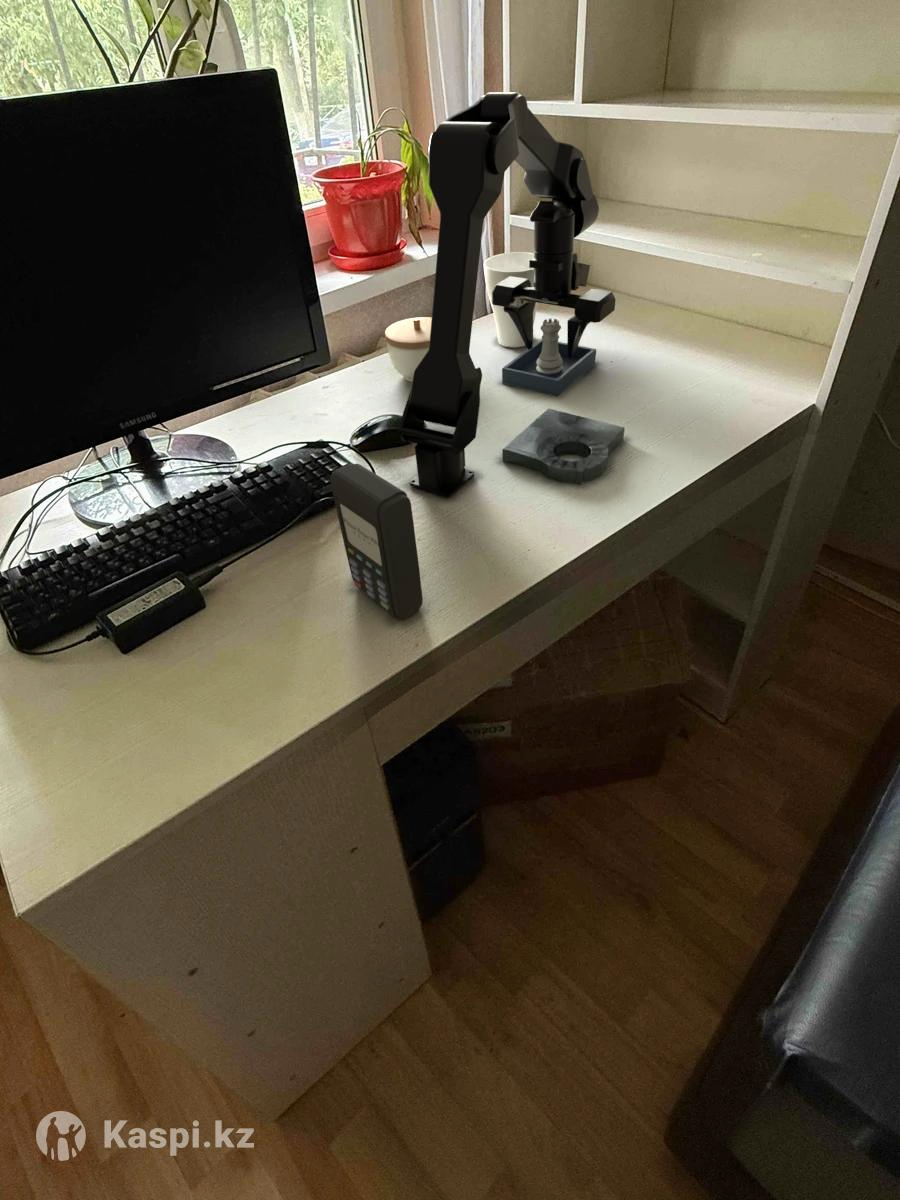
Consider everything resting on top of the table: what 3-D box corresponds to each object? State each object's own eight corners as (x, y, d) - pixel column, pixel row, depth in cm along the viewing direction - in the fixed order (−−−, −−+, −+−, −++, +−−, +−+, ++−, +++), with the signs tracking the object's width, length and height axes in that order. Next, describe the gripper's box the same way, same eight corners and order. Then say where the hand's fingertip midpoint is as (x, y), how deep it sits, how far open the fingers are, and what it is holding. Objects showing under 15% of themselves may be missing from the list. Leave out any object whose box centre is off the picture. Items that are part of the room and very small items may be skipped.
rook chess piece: (561, 376, 111) (564, 327, 105) (534, 376, 112) (535, 326, 106) (564, 364, 114) (566, 316, 108) (537, 364, 115) (538, 316, 109)
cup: (474, 342, 124) (470, 264, 115) (514, 325, 129) (513, 248, 120) (515, 358, 118) (515, 276, 109) (556, 339, 123) (559, 259, 114)
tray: (557, 396, 107) (558, 380, 105) (502, 383, 112) (501, 368, 110) (595, 364, 115) (596, 348, 113) (541, 353, 119) (542, 338, 118)
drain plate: (587, 490, 88) (588, 477, 86) (499, 464, 94) (499, 451, 92) (631, 442, 96) (633, 429, 94) (548, 420, 102) (548, 408, 100)
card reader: (347, 586, 77) (321, 472, 67) (376, 569, 79) (355, 456, 69) (397, 626, 72) (378, 509, 62) (427, 607, 74) (412, 491, 63)
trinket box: (381, 386, 114) (373, 330, 107) (403, 359, 121) (396, 305, 115) (442, 391, 111) (437, 334, 105) (461, 363, 118) (457, 308, 112)
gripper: (636, 240, 101) (624, 344, 111) (525, 227, 109) (525, 325, 120) (602, 263, 94) (594, 371, 105) (488, 248, 103) (491, 349, 113)
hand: (550, 352), depth 111 cm, fingers open, 7 cm apart
